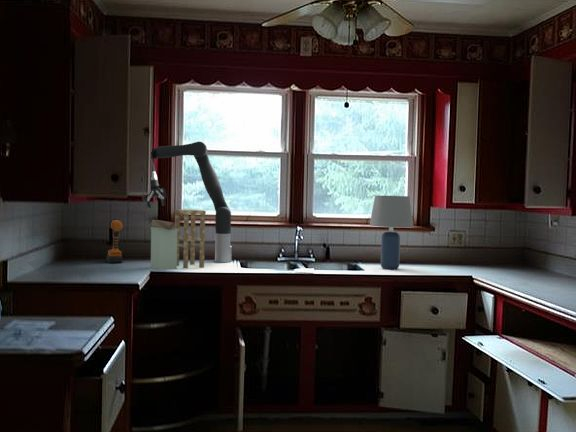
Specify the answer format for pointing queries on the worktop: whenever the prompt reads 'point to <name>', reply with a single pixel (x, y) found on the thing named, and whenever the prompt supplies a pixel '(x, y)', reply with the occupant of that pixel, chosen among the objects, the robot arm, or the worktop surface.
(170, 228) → the tan cardboard block
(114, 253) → the power drill
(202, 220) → the stool
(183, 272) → the worktop surface
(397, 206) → the lamp
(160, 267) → the pale green block
